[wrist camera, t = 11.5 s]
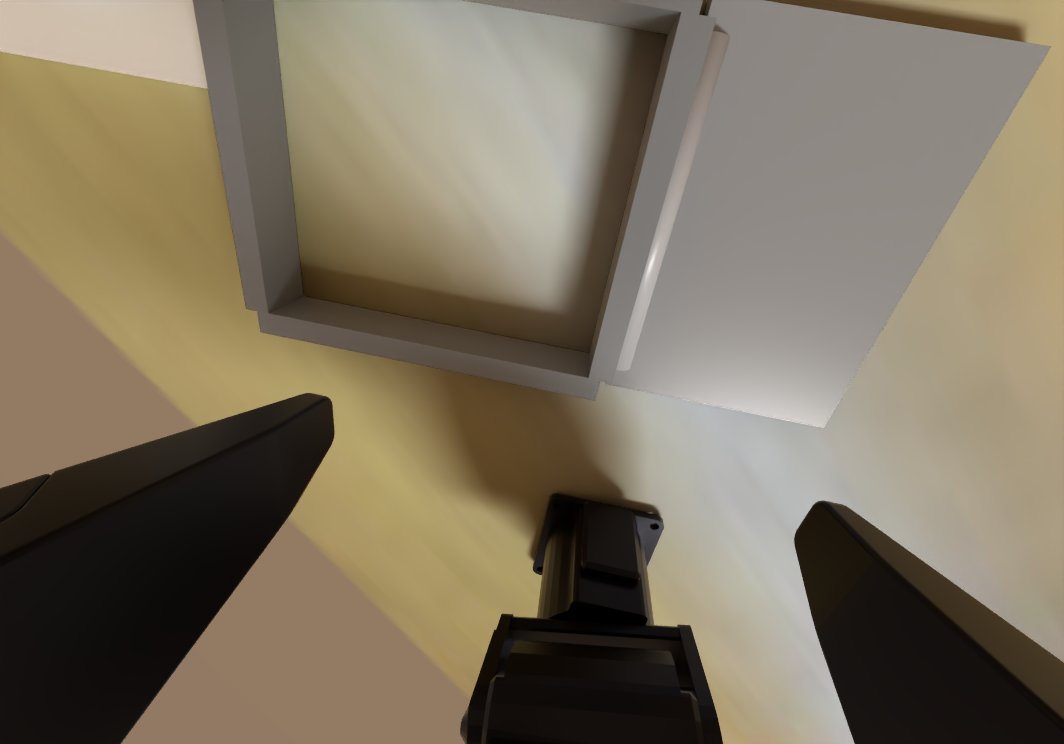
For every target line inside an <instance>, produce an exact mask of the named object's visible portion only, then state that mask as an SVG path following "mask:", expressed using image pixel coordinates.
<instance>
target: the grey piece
mask: <svg viewBox="0 0 1064 744" xmlns="http://www.w3.org/2000/svg"><path fill="white" fill-rule="evenodd" d="M464 1H470V2H476V3H482V4H488V5H494V6H500V7H506V8H512V9H518V10H524V11H530V12H536V13H542V14H548V15H554V16H560V17H566V18H572V19H579V20H585V21H591V22H597V23H603V24H609V25H615V26H621V27H627V28H633V29H639V30H645V31H651V32H657V33H663V34H668V36H667V40H666V44H665V48H664V52H663V56H662V60H661V64H660V68H659V72H658V76H657V80H656V84H655V88H654V92H653V96H652V100H651V104H650V109H649V113H648V117H647V121H646V125H645V129H644V133H643V137H642V141H641V145H640V149H639V153H638V157H637V161H636V165H635V169H634V173H633V177H632V181H631V185H630V190H629V194H628V198H627V202H626V206H625V210H624V214H623V218H622V222H621V226H620V230H619V234H618V238H617V242H616V246H615V250H614V254H613V258H612V262H611V266H610V271H609V275H608V279H607V283H606V287H605V291H604V295H603V299H602V303H601V307H600V311H599V315H598V319H597V323H596V327H595V331H594V335H593V339H592V343H591V347H590V352H589V353H586V352H581V351H576V350H571V349H566V348H561V347H556V346H551V345H546V344H541V343H536V342H531V341H525V340H520V339H515V338H510V337H505V336H500V335H495V334H490V333H485V332H480V331H475V330H470V329H465V328H460V327H455V326H450V325H445V324H440V323H435V322H430V321H425V320H420V319H415V318H410V317H405V316H400V315H395V314H390V313H385V312H380V311H375V310H370V309H365V308H360V307H355V306H350V305H345V304H340V303H335V302H330V301H325V300H320V299H315V298H310V297H305V296H303V286H302V277H301V267H300V257H299V248H298V238H297V228H296V219H295V209H294V200H293V190H292V180H291V171H290V161H289V151H288V142H287V132H286V123H285V113H284V103H283V94H282V84H281V74H280V65H279V55H278V46H277V36H276V26H275V17H274V7H273V0H193V6H194V12H195V18H196V23H197V29H198V35H199V41H200V46H201V52H202V58H203V64H204V69H205V75H206V81H207V87H208V92H209V98H210V104H211V110H212V115H213V121H214V127H215V133H216V138H217V144H218V150H219V156H220V161H221V167H222V173H223V179H224V184H225V190H226V196H227V202H228V207H229V213H230V219H231V225H232V230H233V236H234V242H235V248H236V254H237V259H238V265H239V271H240V277H241V282H242V288H243V294H244V300H245V305H246V309H249V310H254V311H257V313H258V320H259V326H260V332H262V333H267V334H272V335H276V336H281V337H286V338H291V339H296V340H301V341H306V342H311V343H316V344H321V345H325V346H330V347H335V348H340V349H345V350H350V351H355V352H360V353H365V354H369V355H374V356H379V357H384V358H389V359H394V360H399V361H404V362H409V363H414V364H418V365H423V366H428V367H433V368H438V369H443V370H448V371H453V372H458V373H462V374H467V375H472V376H477V377H482V378H487V379H492V380H497V381H502V382H506V383H511V384H516V385H521V386H526V387H531V388H536V389H541V390H546V391H551V392H555V393H560V394H565V395H570V396H575V397H580V398H585V399H590V400H595V398H596V395H597V391H598V387H599V383H600V380H601V381H605V384H609V385H614V386H618V387H623V388H628V389H633V390H638V391H643V392H648V393H653V394H658V395H663V396H668V397H673V398H678V399H683V400H688V401H693V402H698V403H702V404H707V405H712V406H717V407H722V408H727V409H732V410H737V411H742V412H747V413H752V414H757V415H762V416H767V417H772V418H777V419H782V420H786V421H791V422H796V423H801V424H806V425H811V426H816V427H821V428H824V427H825V425H826V423H827V421H828V420H829V418H830V416H831V415H832V413H833V411H834V410H835V408H836V406H837V405H838V403H839V401H840V400H841V398H842V396H843V395H844V393H845V391H846V390H847V388H848V386H849V385H850V383H851V381H852V380H853V378H854V376H855V375H856V373H857V371H858V370H859V368H860V366H861V365H862V363H863V361H864V360H865V358H866V356H867V354H868V353H869V351H870V349H871V348H872V346H873V344H874V343H875V341H876V339H877V338H878V336H879V334H880V333H881V331H882V329H883V328H884V326H885V324H886V323H887V321H888V319H889V318H890V316H891V314H892V313H893V311H894V309H895V308H896V306H897V304H898V303H899V301H900V299H901V298H902V296H903V294H904V293H905V291H906V289H907V288H908V286H909V284H910V282H911V281H912V279H913V277H914V276H915V274H916V272H917V271H918V269H919V267H920V266H921V264H922V262H923V261H924V259H925V257H926V256H927V254H928V252H929V251H930V249H931V247H932V246H933V244H934V242H935V241H936V239H937V237H938V236H939V234H940V232H941V231H942V229H943V227H944V226H945V224H946V222H947V221H948V219H949V217H950V216H951V214H952V212H953V210H954V209H955V207H956V205H957V204H958V202H959V200H960V199H961V197H962V195H963V194H964V192H965V190H966V189H967V187H968V185H969V184H970V182H971V180H972V179H973V177H974V175H975V174H976V172H977V170H978V169H979V167H980V165H981V164H982V162H983V160H984V159H985V157H986V155H987V154H988V152H989V150H990V149H991V147H992V145H993V143H994V142H995V140H996V138H997V137H998V135H999V133H1000V132H1001V130H1002V128H1003V127H1004V125H1005V123H1006V122H1007V120H1008V118H1009V117H1010V115H1011V113H1012V112H1013V110H1014V108H1015V107H1016V105H1017V103H1018V102H1019V100H1020V98H1021V97H1022V95H1023V93H1024V92H1025V90H1026V88H1027V87H1028V85H1029V83H1030V82H1031V80H1032V78H1033V77H1034V75H1035V73H1036V71H1037V70H1038V68H1039V66H1040V65H1041V63H1042V61H1043V60H1044V58H1045V56H1046V55H1047V53H1048V51H1049V50H1050V48H1051V46H1045V45H1039V44H1032V43H1026V42H1020V41H1014V40H1007V39H1001V38H995V37H989V36H983V35H976V34H970V33H964V32H958V31H952V30H945V29H939V28H933V27H927V26H921V25H914V24H908V23H902V22H896V21H889V20H883V19H877V18H871V17H865V16H858V15H852V14H846V13H840V12H834V11H827V10H821V9H815V8H809V7H802V6H796V5H790V4H784V3H778V2H771V1H765V0H708V3H707V7H706V10H705V14H704V15H699V13H700V10H701V6H702V2H703V0H464Z"/></svg>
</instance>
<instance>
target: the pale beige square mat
mask: <svg viewBox="0 0 1064 744" xmlns="http://www.w3.org/2000/svg"><path fill="white" fill-rule="evenodd" d="M0 52H6V53H11V54H17V55H22V56H28V57H33V58H39V59H45V60H50V61H56V62H61V63H67V64H72V65H78V66H83V67H89V68H95V69H100V70H106V71H111V72H117V73H122V74H128V75H134V76H139V77H145V78H150V79H156V80H161V81H167V82H172V83H178V84H184V85H189V86H195V87H200V88H206V89H208V87H207V81H206V75H205V69H204V64H203V58H202V52H201V46H200V41H199V35H198V29H197V23H196V18H195V12H194V6H193V0H0Z"/></svg>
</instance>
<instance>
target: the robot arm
mask: <svg viewBox="0 0 1064 744" xmlns="http://www.w3.org/2000/svg"><path fill="white" fill-rule="evenodd" d="M333 439H334V419H333V407H332V402H331V400H330V399H329V398H328V397H326V396H322V395H317V394H312V393H305V394H302V395H298V396H295V397H292V398H289V399H286V400H282V401H279V402H276V403H273V404H269V405H266V406H263V407H260V408H257V409H253V410H250V411H247V412H244V413H241V414H237V415H234V416H231V417H228V418H225V419H221V420H218V421H215V422H212V423H208V424H205V425H202V426H199V427H196V428H192V429H189V430H186V431H183V432H180V433H176V434H173V435H170V436H167V437H164V438H160V439H157V440H154V441H151V442H147V443H144V444H141V445H138V446H135V447H131V448H128V449H125V450H122V451H119V452H116V453H112V454H109V455H106V456H103V457H99V458H97V459H93V460H90V461H86V462H83V463H80V464H77V465H74V466H70V467H67V468H64V469H61V470H58V471H55V472H54V473H53V474H52V475H49V474H44V475H41V476H38V477H35V478H31V479H28V480H25V481H22V482H19V483H16V484H13V485H9V486H6V487H3V488H0V744H121V743H122V742H123V740H124V739H125V737H126V736H127V735H128V733H129V732H130V731H131V729H132V728H133V726H134V725H135V724H136V723H137V721H138V720H139V719H140V717H141V716H142V714H143V713H144V712H145V710H146V709H147V707H148V706H149V705H150V704H151V702H152V701H153V700H154V698H155V697H156V696H157V694H158V693H159V691H160V690H161V689H162V687H163V686H164V685H165V683H166V682H167V681H168V679H169V678H170V677H171V675H172V674H173V673H174V671H175V670H176V668H177V667H178V666H179V664H180V663H181V662H182V660H183V659H184V658H185V656H186V655H187V654H188V652H189V651H190V649H191V648H192V647H193V645H194V644H195V643H196V641H197V640H198V639H199V637H200V636H201V635H202V633H203V632H204V631H205V629H206V628H207V627H208V625H209V624H210V622H211V621H212V620H213V618H214V617H215V616H216V614H217V613H218V612H219V610H220V609H221V608H222V606H223V605H224V604H225V602H226V601H227V600H228V598H229V597H230V595H231V594H232V593H233V591H234V590H235V588H236V587H237V586H238V584H239V583H240V582H241V580H242V579H243V578H244V576H245V575H246V574H247V572H248V571H249V569H250V568H251V567H252V566H253V564H254V563H255V562H256V560H257V559H258V558H259V556H260V555H261V554H262V552H263V551H264V549H265V548H266V547H267V545H268V544H269V543H270V541H271V540H272V539H273V537H274V536H275V535H276V533H277V532H278V531H279V529H280V528H281V526H282V525H283V524H284V522H285V521H286V519H287V518H288V517H289V515H290V514H291V512H292V511H293V509H294V507H295V506H296V504H297V503H298V501H299V499H300V498H301V496H302V494H303V492H304V491H305V489H306V487H307V486H308V484H309V482H310V481H311V479H312V477H313V475H314V474H315V472H316V470H317V469H318V467H319V465H320V464H321V462H322V460H323V458H324V457H325V455H326V453H327V452H328V450H329V448H330V447H331V445H332V442H333ZM555 502H558V503H560V504H556V503H555ZM653 523H656V524H653ZM663 529H664V524H663V520H662V518H661V517H660V516H658V515H654V514H650V513H645V512H640V511H636V510H631V509H626V508H622V507H617V506H612V505H608V504H603V503H599V502H594V501H589V500H585V499H580V498H575V497H571V496H566V495H561V494H553V495H551V496H550V498H549V501H548V505H547V509H546V513H545V517H544V521H543V526H542V530H541V534H540V538H539V542H538V546H537V550H536V555H535V559H534V563H533V571H534V572H535V573H536V574H539V575H542V582H541V590H540V598H539V606H538V615H537V618H529V617H514V616H513V614H502V615H501V617H500V620H499V623H498V626H497V629H496V630H494V632H493V635H492V638H491V641H490V644H489V647H488V650H487V653H486V656H485V659H484V662H483V665H482V668H481V671H480V674H479V677H478V680H477V683H476V685H475V688H474V691H473V694H472V697H471V700H470V704H469V706H468V708H467V710H466V712H465V714H464V716H463V718H462V722H461V728H460V734H461V737H462V738H463V740H464V742H465V744H723V741H722V736H721V731H720V726H719V722H718V717H717V714H716V710H715V706H714V703H713V700H712V696H711V693H710V690H709V686H708V683H707V679H706V676H705V673H704V669H703V666H702V663H701V659H700V656H699V653H698V649H697V646H696V643H695V639H694V636H693V633H692V629H691V626H690V625H677V627H673V626H657V625H654V620H653V612H652V605H651V597H650V589H649V581H648V573H647V565H648V563H649V561H650V558H651V556H652V554H653V552H654V549H655V547H656V545H657V542H658V540H659V538H660V536H661V533H662V531H663ZM794 543H795V549H796V553H797V557H798V561H799V565H800V569H801V573H802V577H803V582H804V586H805V590H806V594H807V598H808V602H809V606H810V610H811V615H812V618H813V622H814V626H815V629H816V633H817V636H818V639H819V642H820V645H821V648H822V651H823V654H824V657H825V660H826V663H827V665H828V668H829V671H830V674H831V677H832V680H833V683H834V685H835V688H836V691H837V694H838V697H839V700H840V703H841V706H842V708H843V711H844V714H845V717H846V720H847V723H848V726H849V729H850V731H851V734H852V737H853V740H854V743H855V744H1064V662H1062V661H1061V660H1059V659H1058V658H1057V657H1055V656H1054V655H1053V654H1051V653H1050V652H1048V651H1047V650H1046V649H1044V648H1043V647H1041V646H1040V645H1039V644H1037V643H1036V642H1034V641H1033V640H1032V639H1030V638H1029V637H1028V636H1026V635H1025V634H1023V633H1022V632H1021V631H1019V630H1018V629H1016V628H1015V627H1014V626H1012V625H1011V624H1009V623H1008V622H1007V621H1005V620H1004V619H1003V618H1001V617H1000V616H998V615H997V614H996V613H994V612H993V611H991V610H990V609H989V608H987V607H986V606H984V605H983V604H982V603H980V602H979V601H978V600H976V599H975V598H973V597H972V596H971V595H969V594H968V593H966V592H965V591H964V590H962V589H961V588H959V587H958V586H957V585H955V584H954V583H953V582H951V581H950V580H948V579H947V578H946V577H944V576H943V575H941V574H940V573H939V572H937V571H936V570H934V569H933V568H932V567H930V566H929V565H928V564H926V563H925V562H923V561H922V560H921V559H919V558H918V557H916V556H915V555H914V554H912V553H911V552H909V551H908V550H907V549H905V548H904V547H903V546H901V545H900V544H898V543H897V542H896V541H894V540H893V539H891V538H890V537H889V536H887V535H886V534H884V533H883V532H882V531H880V530H879V529H878V528H876V527H875V526H873V525H872V524H871V523H869V522H868V521H866V520H865V519H864V518H862V517H861V516H859V515H858V514H857V513H855V512H854V511H853V510H851V509H850V508H848V507H847V506H844V505H842V504H837V503H832V502H828V501H818V502H816V503H815V504H814V505H813V506H812V508H811V509H810V511H809V512H808V514H807V515H806V517H805V518H804V520H803V521H802V523H801V524H800V526H799V527H798V529H797V531H796V533H795V538H794Z"/></svg>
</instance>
